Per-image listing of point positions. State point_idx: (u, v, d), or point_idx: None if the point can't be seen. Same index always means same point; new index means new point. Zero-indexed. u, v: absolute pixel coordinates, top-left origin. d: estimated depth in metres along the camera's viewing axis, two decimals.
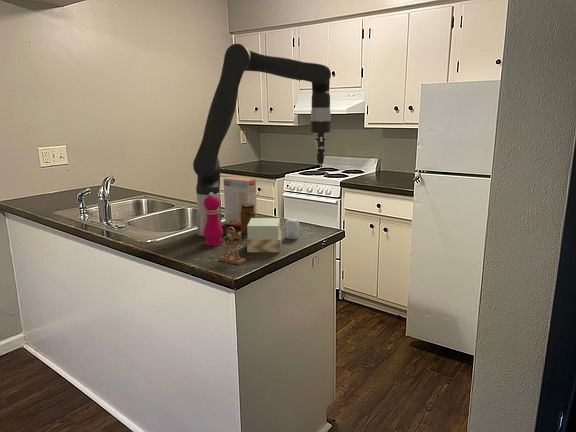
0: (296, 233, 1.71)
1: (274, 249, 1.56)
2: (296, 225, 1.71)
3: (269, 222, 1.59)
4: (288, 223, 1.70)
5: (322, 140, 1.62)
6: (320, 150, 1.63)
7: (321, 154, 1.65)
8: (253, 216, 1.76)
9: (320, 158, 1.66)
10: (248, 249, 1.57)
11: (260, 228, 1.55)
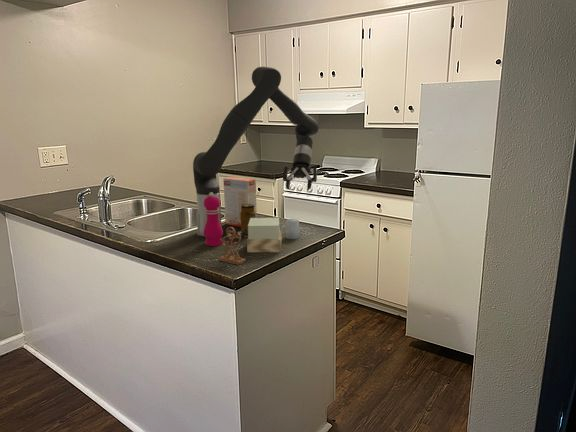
0: (296, 233, 1.71)
1: (274, 249, 1.56)
2: (296, 225, 1.71)
3: (269, 222, 1.60)
4: (288, 223, 1.70)
5: (316, 172, 1.84)
6: (315, 178, 1.81)
7: (311, 182, 1.81)
8: (253, 216, 1.76)
9: (311, 184, 1.80)
10: (248, 249, 1.57)
11: (261, 227, 1.55)
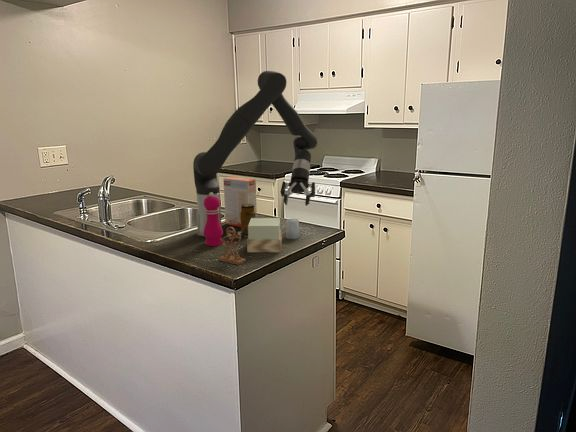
0: (296, 233, 1.71)
1: (274, 250, 1.56)
2: (296, 225, 1.71)
3: (269, 222, 1.59)
4: (288, 223, 1.70)
5: None
6: (314, 193, 1.79)
7: (309, 197, 1.79)
8: (253, 216, 1.76)
9: (309, 200, 1.78)
10: (248, 249, 1.57)
11: (261, 228, 1.55)
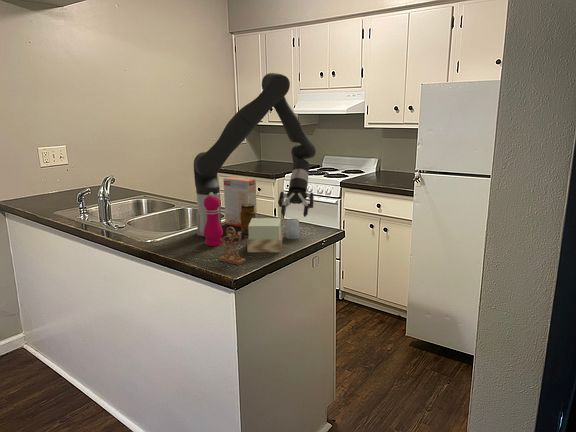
0: (296, 233, 1.71)
1: (274, 250, 1.56)
2: (296, 225, 1.71)
3: (269, 222, 1.59)
4: (288, 223, 1.70)
5: (313, 197, 1.78)
6: None
7: (308, 208, 1.76)
8: (253, 216, 1.76)
9: (307, 211, 1.75)
10: (248, 249, 1.57)
11: (261, 228, 1.55)
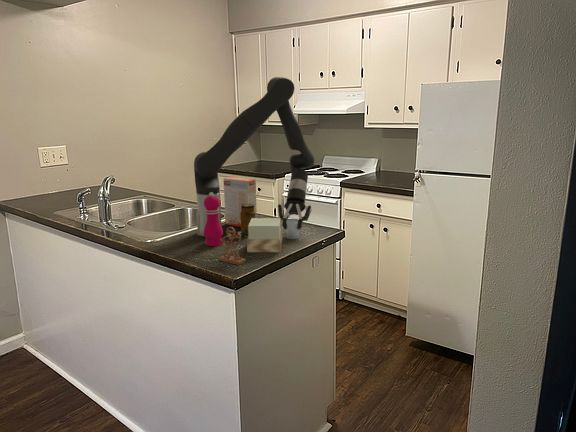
0: (296, 233, 1.71)
1: (273, 250, 1.56)
2: (296, 225, 1.71)
3: (269, 222, 1.59)
4: (288, 223, 1.70)
5: (310, 211, 1.74)
6: (306, 217, 1.72)
7: (302, 221, 1.72)
8: (253, 216, 1.76)
9: (301, 224, 1.71)
10: (248, 249, 1.57)
11: (261, 228, 1.55)
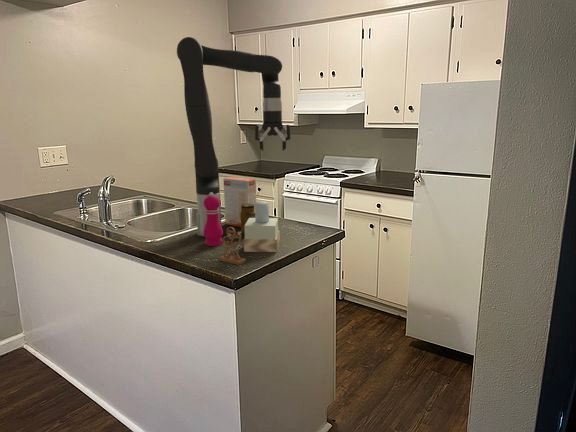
0: (265, 217, 1.58)
1: (270, 249, 1.57)
2: (265, 208, 1.57)
3: None
4: (256, 206, 1.57)
5: None
6: (289, 137, 1.77)
7: None
8: (253, 216, 1.76)
9: (285, 145, 1.78)
10: (245, 248, 1.57)
11: (257, 227, 1.55)
